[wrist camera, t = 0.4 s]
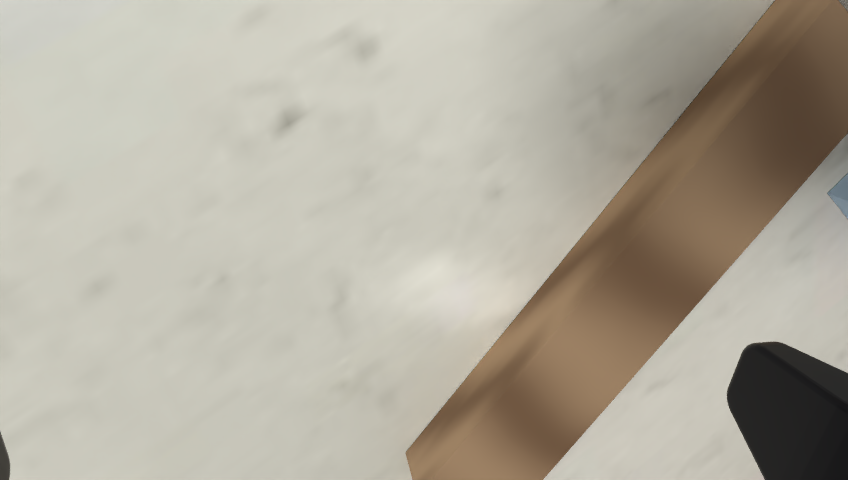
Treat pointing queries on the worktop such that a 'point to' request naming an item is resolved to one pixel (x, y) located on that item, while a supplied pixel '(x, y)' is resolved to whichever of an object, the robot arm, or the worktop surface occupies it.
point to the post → (841, 194)
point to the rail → (651, 251)
